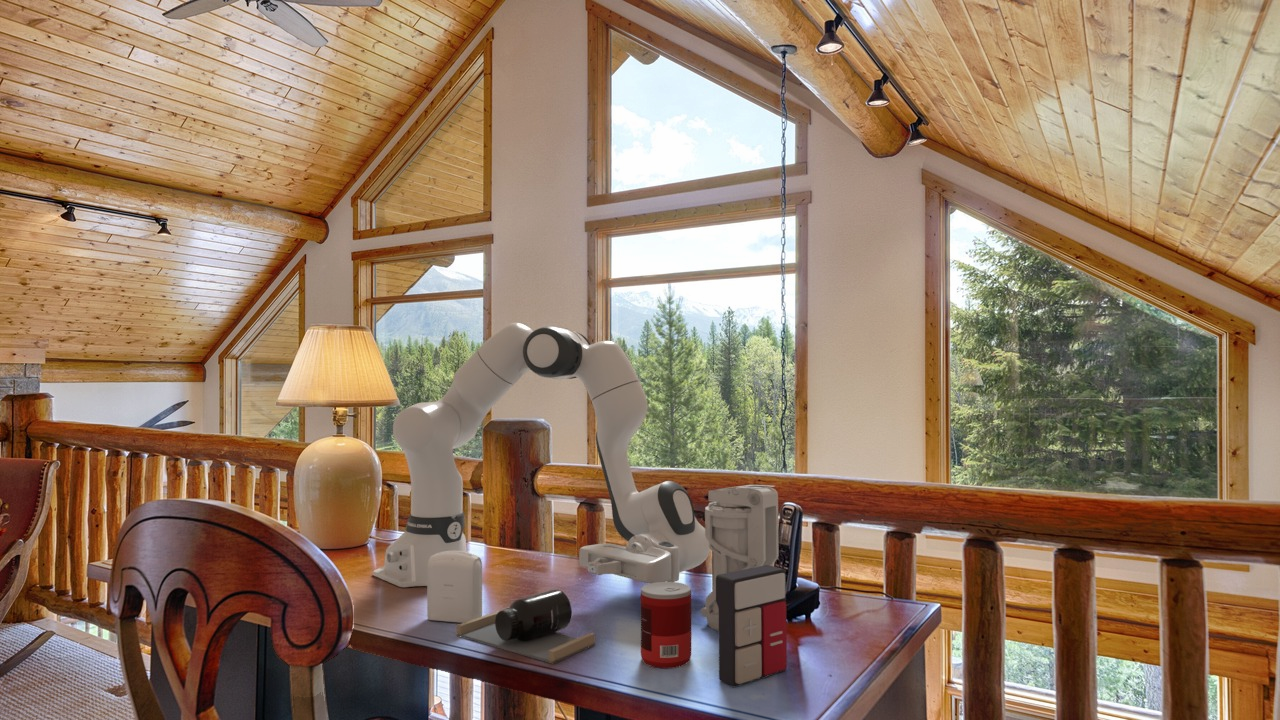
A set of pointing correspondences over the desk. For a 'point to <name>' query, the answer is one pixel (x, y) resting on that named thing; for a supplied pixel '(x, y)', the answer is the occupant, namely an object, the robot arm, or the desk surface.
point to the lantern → (739, 534)
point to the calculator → (751, 624)
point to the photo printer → (454, 587)
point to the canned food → (666, 624)
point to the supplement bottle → (534, 616)
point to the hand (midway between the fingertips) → (592, 569)
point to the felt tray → (539, 648)
